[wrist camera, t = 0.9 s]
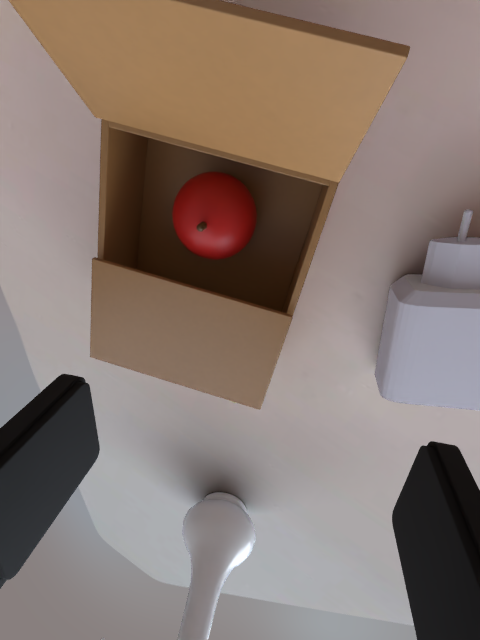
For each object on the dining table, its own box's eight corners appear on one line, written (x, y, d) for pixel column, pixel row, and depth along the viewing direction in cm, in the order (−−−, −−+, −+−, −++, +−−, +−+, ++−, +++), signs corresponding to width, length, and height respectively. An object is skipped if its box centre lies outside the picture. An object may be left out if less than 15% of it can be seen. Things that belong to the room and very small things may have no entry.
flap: (94, 117, 20) (97, 111, 20) (339, 183, 20) (341, 176, 20) (-29, -49, 12) (-25, -60, 12) (407, 57, 11) (411, 45, 11)
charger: (539, 204, 24) (480, 377, 31) (401, 204, 26) (373, 369, 33) (587, 215, 20) (506, 413, 27) (418, 215, 22) (382, 402, 28)
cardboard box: (146, 122, 27) (93, 114, 20) (333, 172, 26) (340, 180, 19) (129, 319, 35) (89, 357, 29) (270, 361, 34) (260, 411, 28)
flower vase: (143, 476, 46) (-9, 773, 24) (278, 473, 41) (239, 844, 19) (174, 537, 51) (72, 828, 29) (297, 541, 46) (284, 896, 24)
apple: (194, 160, 27) (158, 163, 20) (270, 180, 26) (258, 191, 20) (183, 236, 30) (148, 260, 23) (251, 256, 29) (235, 285, 23)
